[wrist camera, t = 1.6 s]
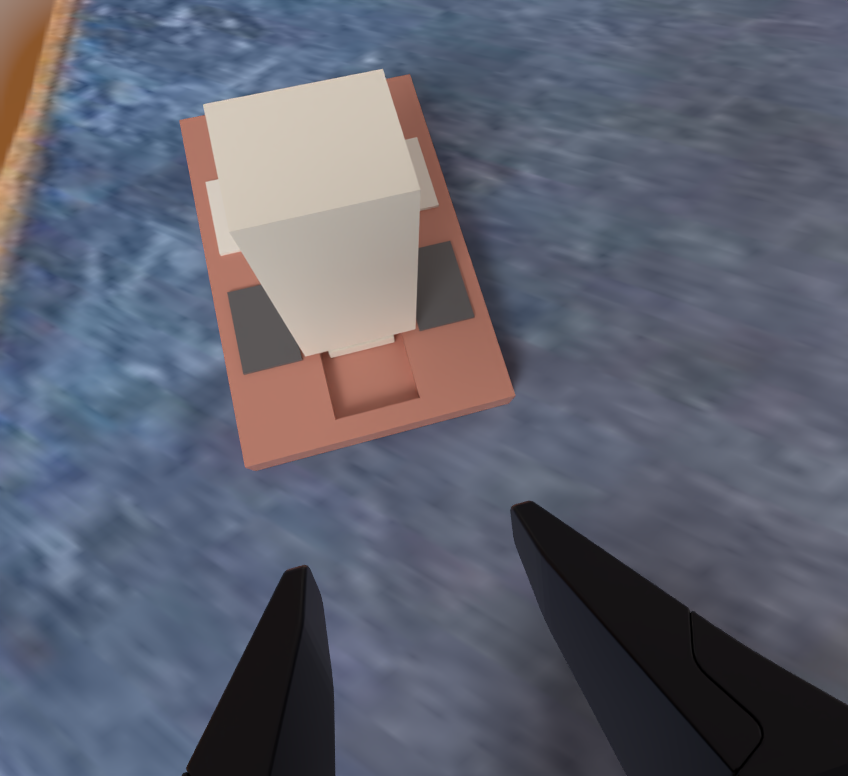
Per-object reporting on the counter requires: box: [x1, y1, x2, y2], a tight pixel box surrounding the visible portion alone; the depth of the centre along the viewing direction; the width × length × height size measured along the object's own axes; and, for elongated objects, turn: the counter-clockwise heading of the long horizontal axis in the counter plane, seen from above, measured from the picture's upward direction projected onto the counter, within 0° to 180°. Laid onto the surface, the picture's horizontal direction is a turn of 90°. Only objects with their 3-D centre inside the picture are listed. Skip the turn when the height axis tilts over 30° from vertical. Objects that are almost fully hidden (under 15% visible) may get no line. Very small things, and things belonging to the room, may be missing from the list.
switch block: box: [180, 74, 515, 471], centre depth 25 cm, size 18×12×2 cm, turn 15°
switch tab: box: [203, 69, 420, 358], centre depth 19 cm, size 4×5×11 cm
